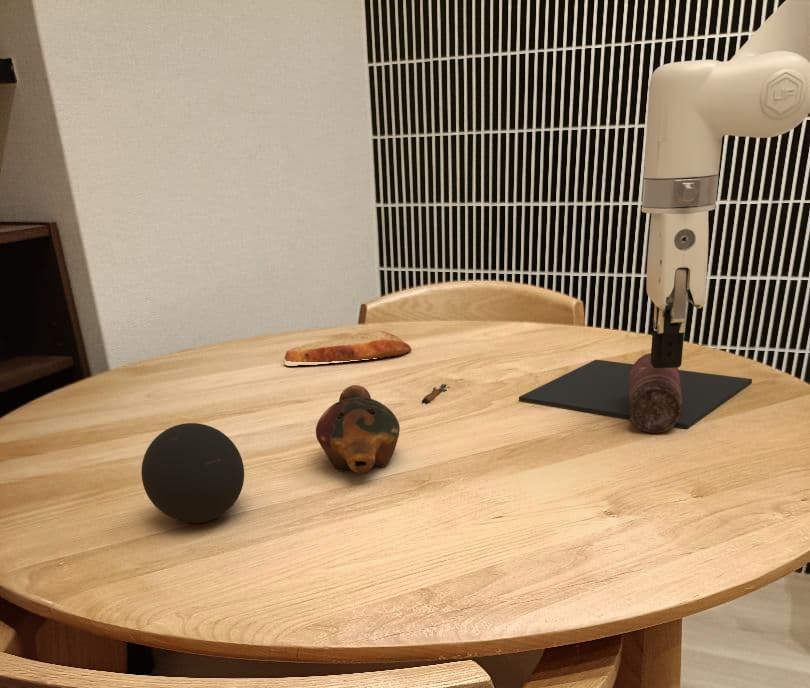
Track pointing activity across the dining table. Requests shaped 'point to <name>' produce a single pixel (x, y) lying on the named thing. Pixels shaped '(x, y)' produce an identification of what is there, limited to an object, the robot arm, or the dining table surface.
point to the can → (654, 396)
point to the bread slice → (350, 348)
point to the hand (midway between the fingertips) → (665, 365)
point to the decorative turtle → (358, 431)
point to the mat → (610, 387)
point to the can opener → (433, 394)
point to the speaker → (192, 472)
